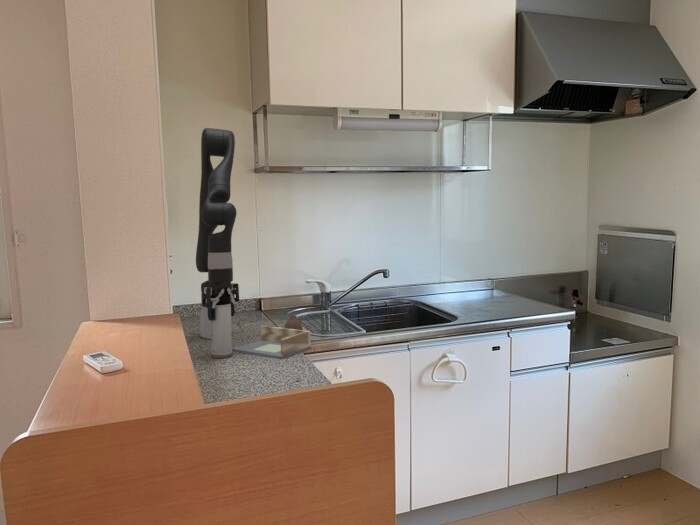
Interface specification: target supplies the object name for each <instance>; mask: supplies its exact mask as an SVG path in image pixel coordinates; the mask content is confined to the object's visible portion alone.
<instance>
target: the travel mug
mask: <svg viewBox="0 0 700 525" xmlns="http://www.w3.org/2000/svg"><path fill="white" fill-rule="evenodd" d="M211 298H216V297H211ZM230 300H231V295H229V296H224V297H222V298H220V299H219V302H218V303H217V304H216V306H215V320H214V321H211V339H210V344H211V348H210V350H211V357H212V358H213V359H227V358H231V356H232V355H233V351H232V349H233V343H232V341H233V339H232V316H231V301H230ZM212 303H213V302H212Z"/></svg>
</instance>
